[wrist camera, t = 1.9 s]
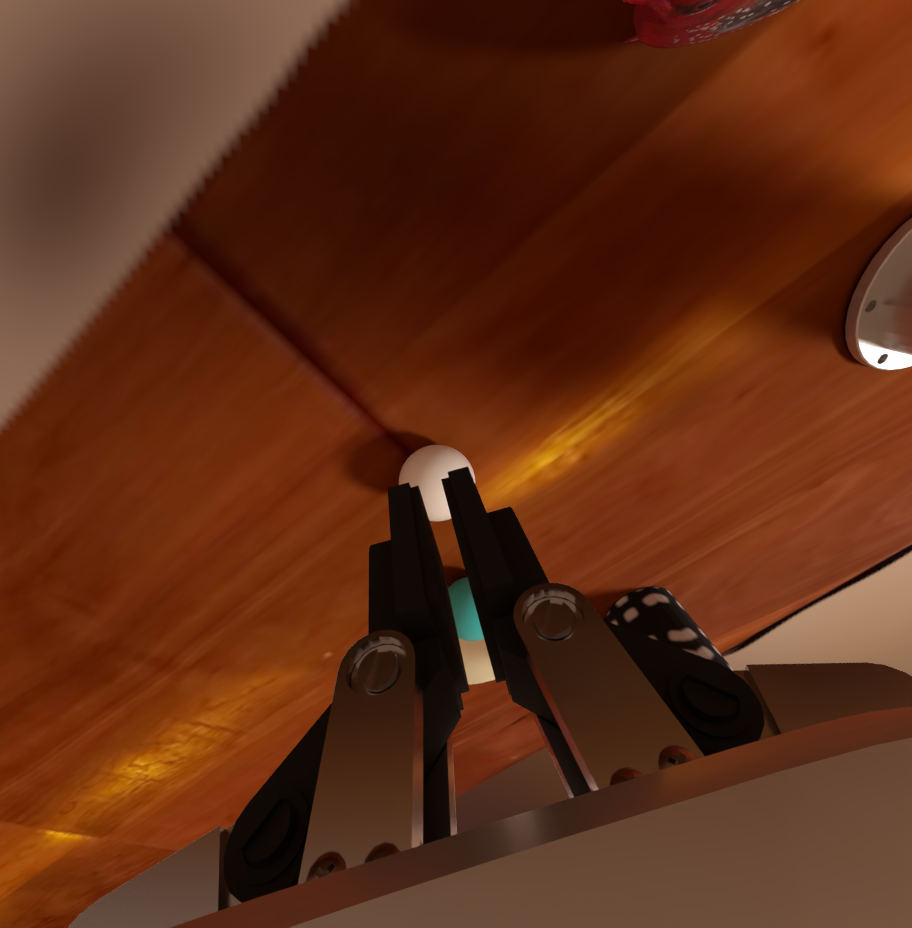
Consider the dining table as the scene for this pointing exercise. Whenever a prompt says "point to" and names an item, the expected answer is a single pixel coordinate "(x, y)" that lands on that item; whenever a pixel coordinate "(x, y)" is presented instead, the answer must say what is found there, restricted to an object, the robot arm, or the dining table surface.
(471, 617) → the object ball
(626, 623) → the spotted tube
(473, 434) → the dining table surface
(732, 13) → the decorative bird figurine
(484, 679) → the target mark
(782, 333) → the dining table surface
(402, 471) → the glossy white ball
